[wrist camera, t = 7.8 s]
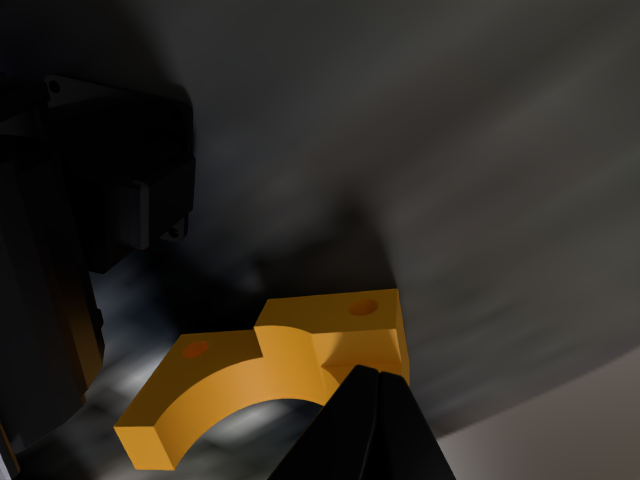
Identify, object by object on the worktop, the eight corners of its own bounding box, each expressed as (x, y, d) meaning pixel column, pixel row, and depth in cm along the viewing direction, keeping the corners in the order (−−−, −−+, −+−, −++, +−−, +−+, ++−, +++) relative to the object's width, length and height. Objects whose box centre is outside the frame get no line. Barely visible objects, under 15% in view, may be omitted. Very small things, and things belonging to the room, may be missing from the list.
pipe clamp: (397, 286, 21) (393, 386, 15) (409, 360, 23) (409, 474, 17) (171, 306, 24) (96, 395, 18) (197, 369, 25) (135, 469, 20)
